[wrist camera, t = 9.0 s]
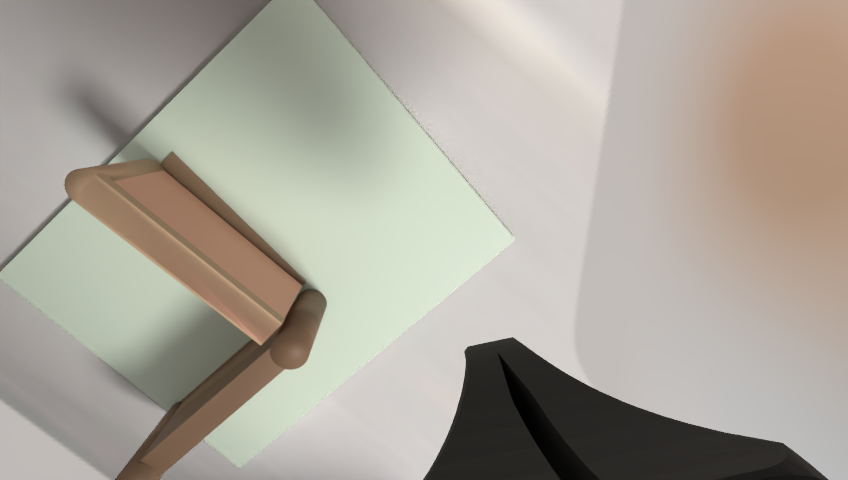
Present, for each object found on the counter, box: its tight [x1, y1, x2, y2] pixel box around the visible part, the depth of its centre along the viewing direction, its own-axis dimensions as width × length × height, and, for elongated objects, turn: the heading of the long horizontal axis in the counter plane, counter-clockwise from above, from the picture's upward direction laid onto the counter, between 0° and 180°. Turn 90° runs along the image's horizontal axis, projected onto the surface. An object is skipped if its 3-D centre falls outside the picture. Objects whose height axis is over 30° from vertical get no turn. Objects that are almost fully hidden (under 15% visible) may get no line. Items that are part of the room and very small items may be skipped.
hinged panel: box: [65, 159, 302, 345], centre depth 17 cm, size 1×8×4 cm, turn 45°
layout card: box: [0, 0, 516, 468], centre depth 20 cm, size 14×18×1 cm
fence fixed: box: [115, 289, 327, 480], centre depth 19 cm, size 1×10×4 cm, turn 131°
